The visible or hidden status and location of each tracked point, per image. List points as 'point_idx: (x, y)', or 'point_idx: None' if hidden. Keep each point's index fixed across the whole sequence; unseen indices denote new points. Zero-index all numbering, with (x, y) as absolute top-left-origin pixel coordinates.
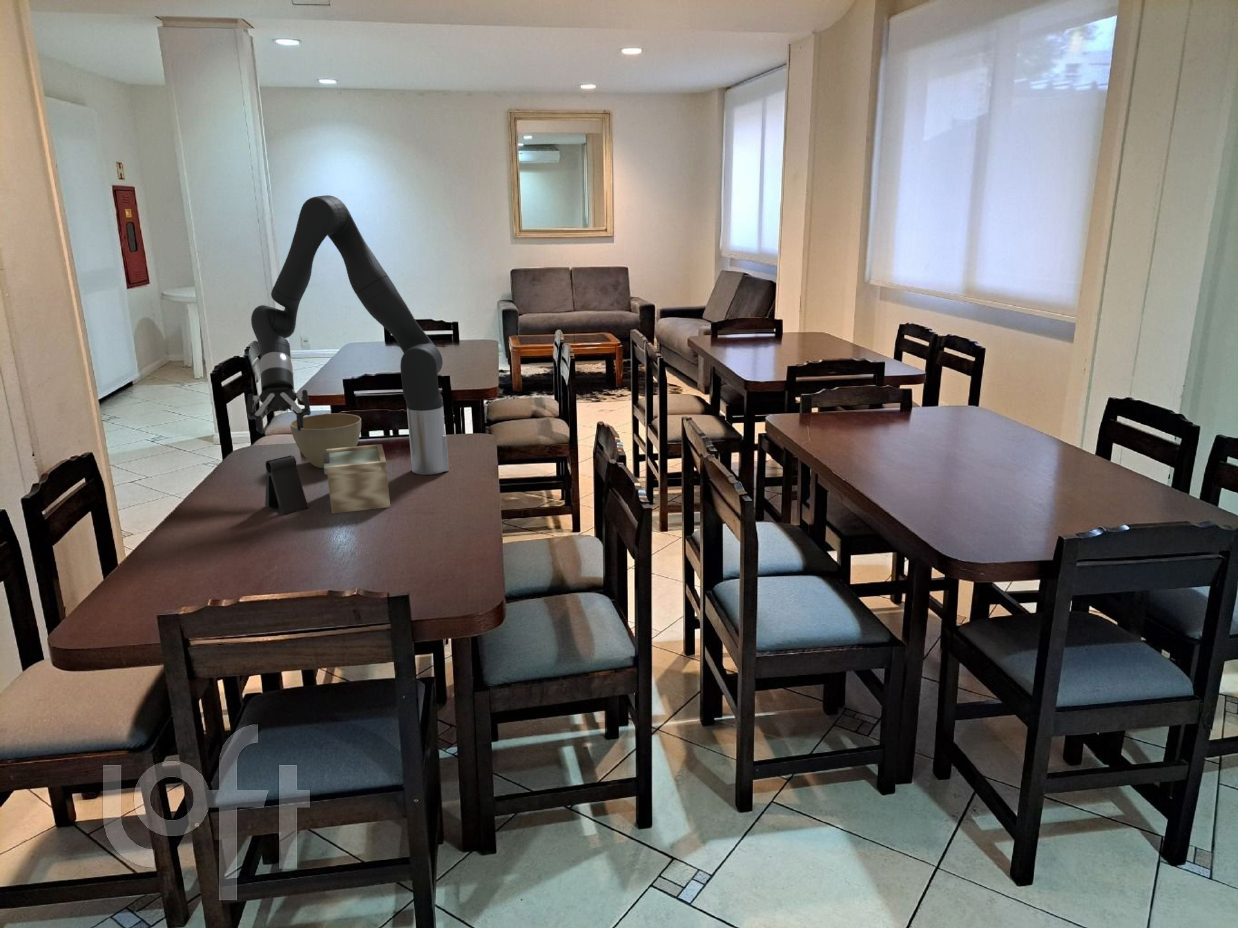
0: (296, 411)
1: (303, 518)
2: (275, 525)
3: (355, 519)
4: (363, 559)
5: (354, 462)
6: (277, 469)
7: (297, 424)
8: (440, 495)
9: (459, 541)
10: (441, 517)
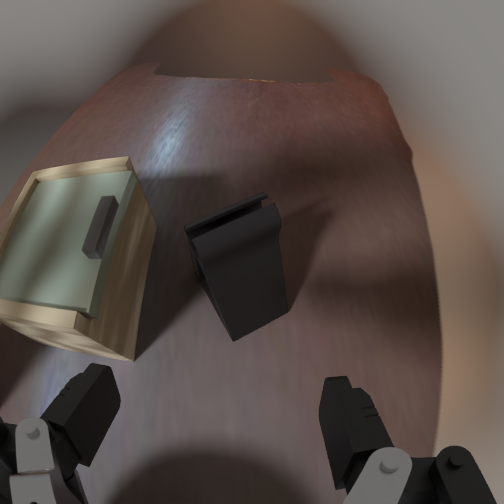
0: (51, 441)
1: None
2: None
3: None
4: (165, 105)
5: (64, 197)
6: (244, 210)
7: (99, 369)
8: None
9: (77, 127)
10: None
